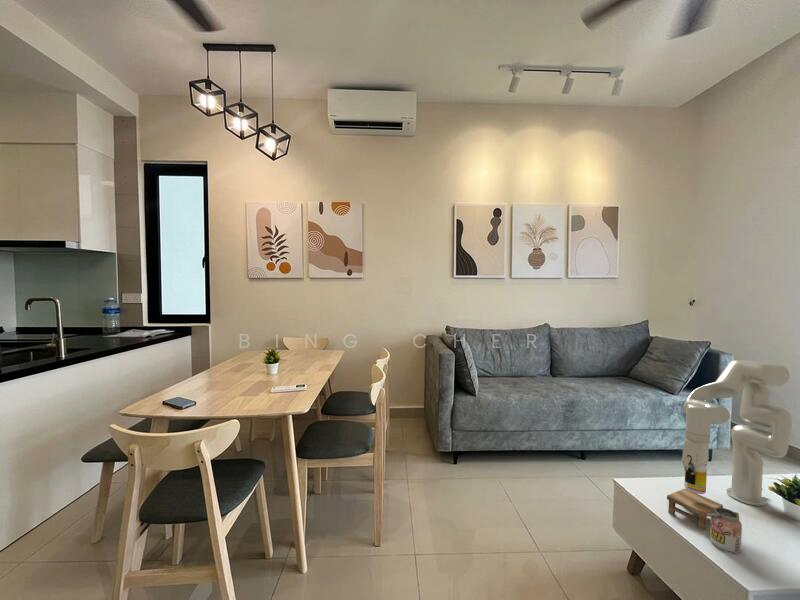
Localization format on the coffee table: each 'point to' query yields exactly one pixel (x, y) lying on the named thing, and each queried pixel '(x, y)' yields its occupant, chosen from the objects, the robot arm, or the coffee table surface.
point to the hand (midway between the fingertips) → (695, 480)
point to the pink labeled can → (725, 530)
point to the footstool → (692, 505)
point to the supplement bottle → (698, 480)
